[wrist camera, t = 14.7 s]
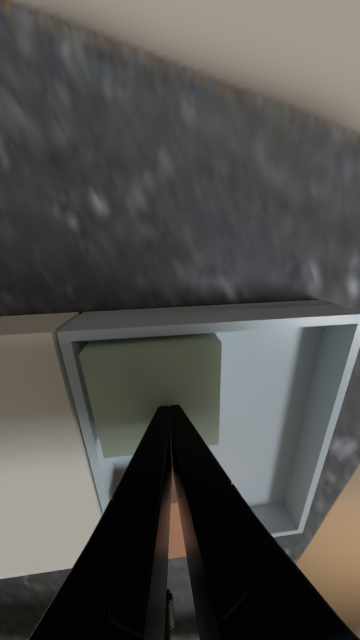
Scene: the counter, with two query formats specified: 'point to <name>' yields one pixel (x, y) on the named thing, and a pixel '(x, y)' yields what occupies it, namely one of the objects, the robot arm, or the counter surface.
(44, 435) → the board
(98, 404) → the tile sage
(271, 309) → the box
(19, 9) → the counter surface
